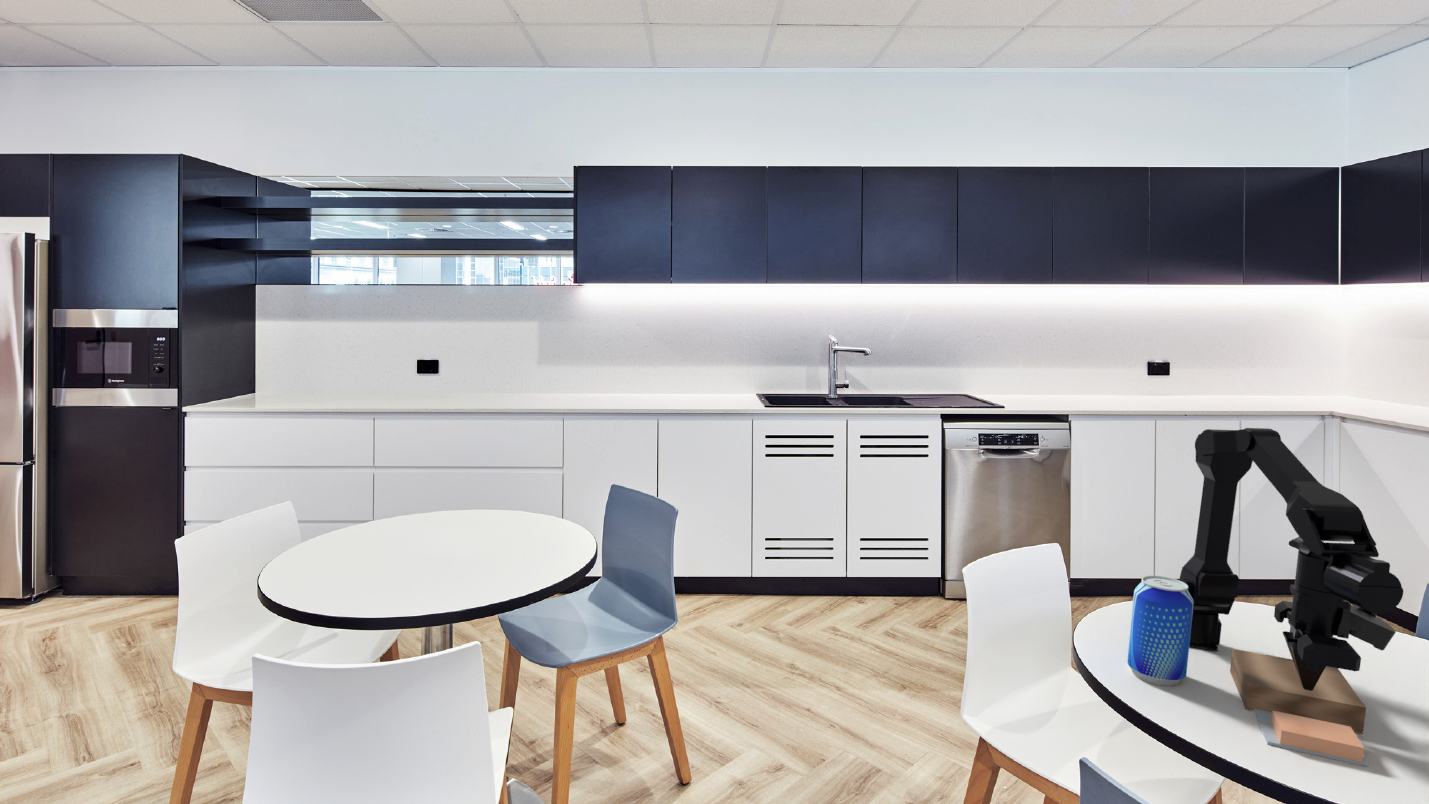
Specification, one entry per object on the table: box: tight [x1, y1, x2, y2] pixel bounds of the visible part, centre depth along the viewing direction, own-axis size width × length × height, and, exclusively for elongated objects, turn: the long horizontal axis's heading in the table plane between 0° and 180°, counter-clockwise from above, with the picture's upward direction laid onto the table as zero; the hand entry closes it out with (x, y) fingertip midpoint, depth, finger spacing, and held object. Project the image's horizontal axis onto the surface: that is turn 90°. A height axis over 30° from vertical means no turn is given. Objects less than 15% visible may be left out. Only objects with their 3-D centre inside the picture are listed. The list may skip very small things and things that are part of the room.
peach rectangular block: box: [1271, 710, 1365, 762], centre depth 105 cm, size 9×6×2 cm, turn 64°
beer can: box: [1127, 575, 1194, 687], centre depth 124 cm, size 8×8×16 cm
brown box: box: [1229, 648, 1367, 735], centre depth 118 cm, size 14×14×4 cm
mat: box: [1253, 709, 1369, 767], centre depth 107 cm, size 11×10×1 cm
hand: (1307, 689), depth 111 cm, fingers closed
